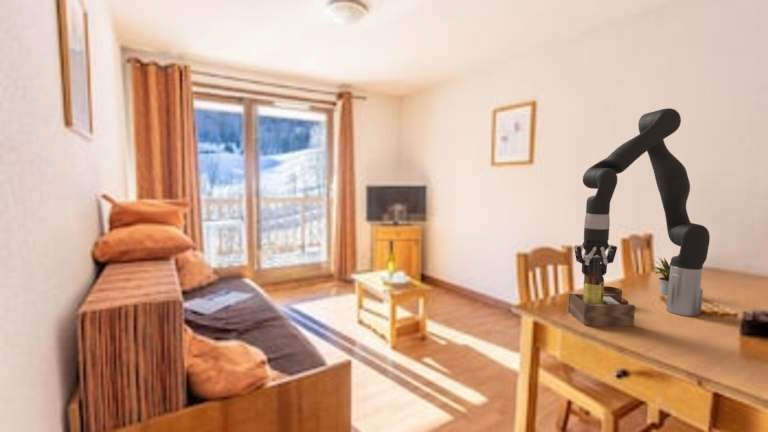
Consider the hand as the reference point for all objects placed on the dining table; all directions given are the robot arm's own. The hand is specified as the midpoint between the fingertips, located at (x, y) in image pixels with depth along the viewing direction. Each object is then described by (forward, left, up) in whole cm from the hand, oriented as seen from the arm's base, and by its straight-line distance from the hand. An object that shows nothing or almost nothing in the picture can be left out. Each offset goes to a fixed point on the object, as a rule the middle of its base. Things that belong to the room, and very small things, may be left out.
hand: (593, 274), depth 134 cm
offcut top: (-6, 0, -13) cm, 14 cm away
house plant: (-47, -29, -16) cm, 58 cm away
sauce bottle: (0, 0, -14) cm, 14 cm away
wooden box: (-3, 0, -16) cm, 16 cm away
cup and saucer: (-15, -15, -16) cm, 27 cm away
